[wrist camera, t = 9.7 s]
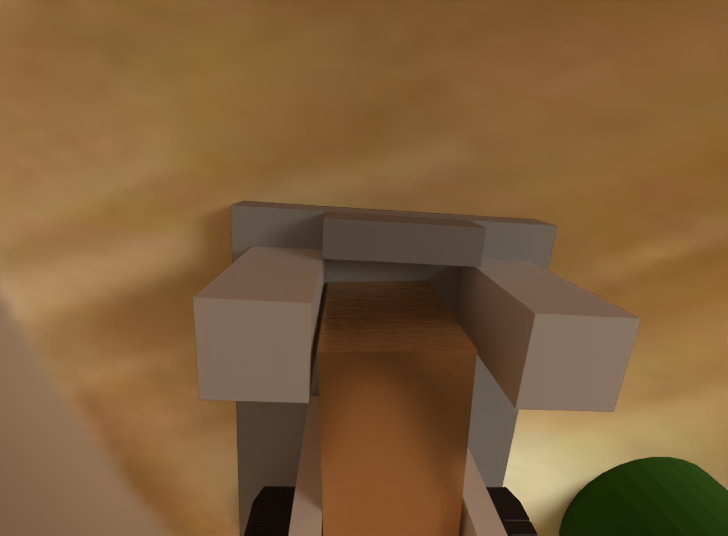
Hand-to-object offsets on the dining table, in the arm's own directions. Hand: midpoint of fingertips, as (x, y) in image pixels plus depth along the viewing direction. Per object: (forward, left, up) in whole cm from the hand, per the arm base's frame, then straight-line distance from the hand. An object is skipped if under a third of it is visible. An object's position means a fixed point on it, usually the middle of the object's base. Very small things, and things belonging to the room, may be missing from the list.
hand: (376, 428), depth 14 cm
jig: (0, 0, -2) cm, 2 cm away
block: (0, 0, 0) cm, 0 cm away
